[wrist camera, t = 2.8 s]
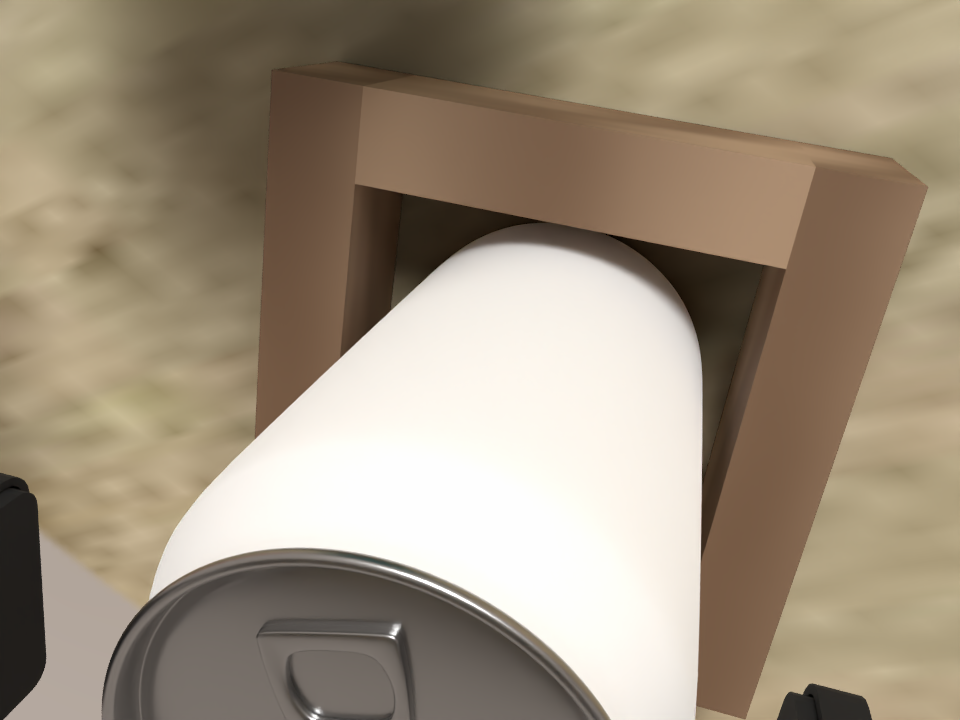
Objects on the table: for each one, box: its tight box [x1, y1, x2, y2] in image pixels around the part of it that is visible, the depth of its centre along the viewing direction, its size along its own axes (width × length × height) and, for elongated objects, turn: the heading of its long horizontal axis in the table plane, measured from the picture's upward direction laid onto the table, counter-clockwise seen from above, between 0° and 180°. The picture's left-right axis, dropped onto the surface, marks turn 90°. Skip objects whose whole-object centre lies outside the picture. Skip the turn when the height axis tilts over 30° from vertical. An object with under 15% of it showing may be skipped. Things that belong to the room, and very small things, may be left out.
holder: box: [255, 61, 928, 719], centre depth 18 cm, size 11×11×3 cm
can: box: [102, 223, 703, 720], centre depth 14 cm, size 6×6×12 cm
